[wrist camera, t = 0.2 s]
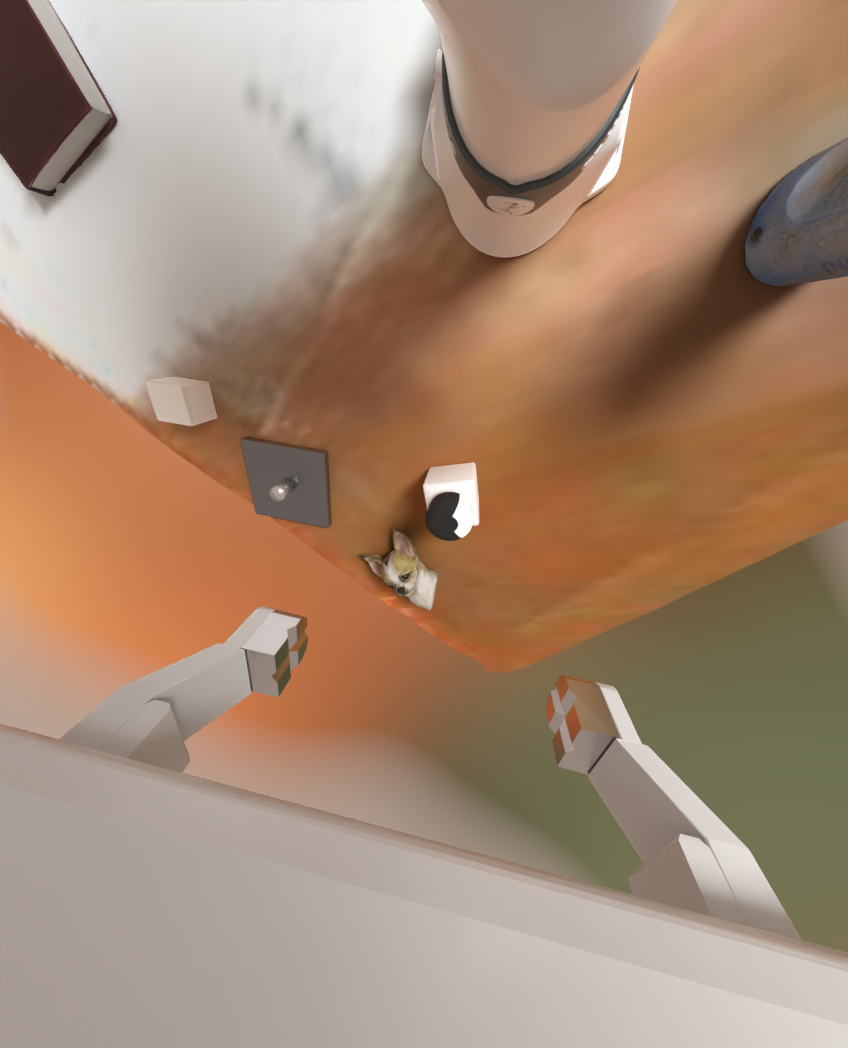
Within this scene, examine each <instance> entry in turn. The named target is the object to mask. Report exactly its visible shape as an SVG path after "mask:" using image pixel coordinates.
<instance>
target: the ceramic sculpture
mask: <svg viewBox="0 0 848 1048" xmlns="http://www.w3.org/2000/svg"><path fill="white" fill-rule="evenodd" d="M392 531H393V546H394V549H395V550H394V551H392V552H390V553H389V554H388V555H387V556H386V558H385V559H384V558H383V557H382V556H380V555H378V554H361V555H360V556H361V557H362V558H363V559H365V560H366V561H367V563H368V564H369V566H370V567H371V568H372V571H373V572H374V573H375V574H376V575H377V576H378V577H379V578H381V579H383V581H384V582H385V583H387V584H388V586H389V587H390V588H392V589H393V590H395V591H396V592H397V594H398V595H400V596H407V597H408V598H409V600H410V601H411V602H413V603H414V604H416V605H417V606H420V607H423V608H426V609H427V610H431V608H432V604H433V601H434V596H435V588H436V583H437V578H438V575H437V573H436V572H435V571H432V570H428V569H427V568H426V567H425V566H424V565H423V564H422V563H421V561H420V560H419V558H418V553H417V549H416V548H415V545H414V543H413V542H412V540H411V539H410V538H409V536H407V535H406V534H405V533H404V532H402V531H400V530H398V529H396V528H394V527H392Z"/></svg>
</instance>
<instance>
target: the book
mask: <svg viewBox="0 0 848 1048" xmlns="http://www.w3.org/2000/svg"><path fill="white" fill-rule="evenodd" d="M116 120H117V119H116V117H115V115H114V113H113V111H112V109H111V107H110V105H109V103H108V101H107V100H106V98H105V96H104V94H103V92H102V91H101V89H100V87H99V85H98V84H97V82H96V80H95V78H94V77H93V75H92V73H91V71H90V70H89V68H88V66H87V65H86V63H85V61H84V59H83V58H82V56H81V54H80V52H79V51H78V49H77V47H76V45H75V44H74V42H73V40H72V38H71V37H70V35H69V33H68V31H67V30H66V28H65V26H64V25H63V23H62V22H61V20H60V18H59V17H58V15H57V13H56V12H55V10H54V8H53V7H52V5H51V3H50V1H49V0H0V153H1V155H2V156H3V157H4V159H5V160H6V162H7V163H8V164H9V166H10V167H11V169H12V170H13V171H14V173H15V174H16V175H17V177H18V178H19V179H20V181H21V182H22V184H23V185H24V186H25V187H26V188H27V189H28V190H31V191H34V192H38V193H41V194H44V195H47V196H53V194H54V193H55V192H56V188H54V187H55V186H56V185H57V184H59V183H65V181H66V180H67V179H68V178H69V177H70V176H71V174H72V173H73V172H74V171H75V170H76V169H77V168H78V167H79V166H80V165H81V164H82V163H83V162H84V160H85V159H86V158H87V157H88V156H89V155H90V154H91V153H92V151H93V150H94V149H95V148H96V147H97V146H98V145H99V144H100V142H101V141H102V139H103V138H104V137H105V136H106V135H107V134H108V133H109V132H110V130H111V129H112V128H113V126H114V124H115V122H116ZM53 188H54V189H53ZM52 189H53V190H52Z"/></svg>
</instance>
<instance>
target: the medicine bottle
mask: <svg viewBox="0 0 848 1048" xmlns="http://www.w3.org/2000/svg"><path fill="white" fill-rule="evenodd" d="M423 490H424V495H425V501H426V506H427V514H426V525H427V528H428V529H429V531H430V532H431V533H432V534H433V535H434V536H436V537H437V538H439V539H442V540H447V541H454V540H458V539H461V538H463V537H464V536H466V535H467V534H468V533H469V531H470V530H471V527H472V526H477V525H478V524H479V496H478V485H477V475H476V465H475V463H464V464H455V465H446V466H437V467H431V468H430V469H429V471H428V474H427V476H426V479H425V482H424V484H423Z"/></svg>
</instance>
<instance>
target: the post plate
mask: <svg viewBox="0 0 848 1048" xmlns="http://www.w3.org/2000/svg"><path fill="white" fill-rule="evenodd" d="M241 443H242V448H243V453H244V458H245V462H246V467H247V472H248V477H249V482H250V487H251V492H252V497H253V502H254V506H255V511H256V514H261V515H266V516H271V517H276V518H281V519H286V520H292V521H297V522H302V523H307V524H312V525H318V526H323V527H328V528H329V527H330V525H331V507H330V487H329V467H328V451H323V450H318V449H312V448H306V447H300V446H295V445H289V444H283V443H277V442H272V441H266V440H260V439H255V438H249V437H244V438H242V439H241Z"/></svg>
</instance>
